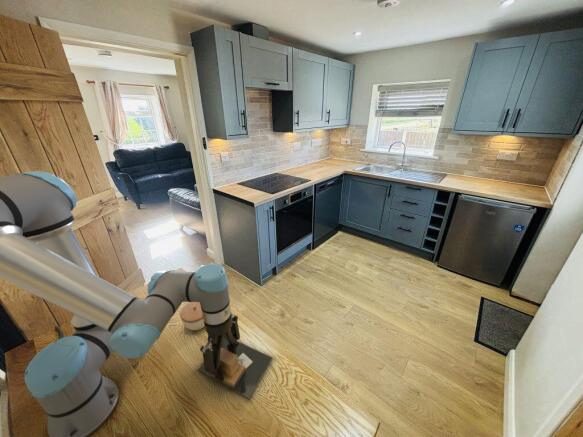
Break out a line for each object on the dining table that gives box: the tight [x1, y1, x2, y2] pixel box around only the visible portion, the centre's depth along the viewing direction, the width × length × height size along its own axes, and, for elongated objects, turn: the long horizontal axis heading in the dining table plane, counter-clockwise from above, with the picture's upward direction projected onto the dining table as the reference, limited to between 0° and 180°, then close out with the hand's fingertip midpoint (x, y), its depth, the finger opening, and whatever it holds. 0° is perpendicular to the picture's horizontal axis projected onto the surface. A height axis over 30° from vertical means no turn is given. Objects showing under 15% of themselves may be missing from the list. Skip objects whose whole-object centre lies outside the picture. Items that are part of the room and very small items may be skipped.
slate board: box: [197, 338, 273, 400], centre depth 79 cm, size 20×14×1 cm
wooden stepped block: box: [209, 348, 246, 389], centre depth 74 cm, size 10×6×8 cm, turn 65°
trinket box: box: [179, 302, 205, 331], centre depth 93 cm, size 11×11×9 cm
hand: (226, 368), depth 75 cm, fingers closed on wooden stepped block, 6 cm apart
